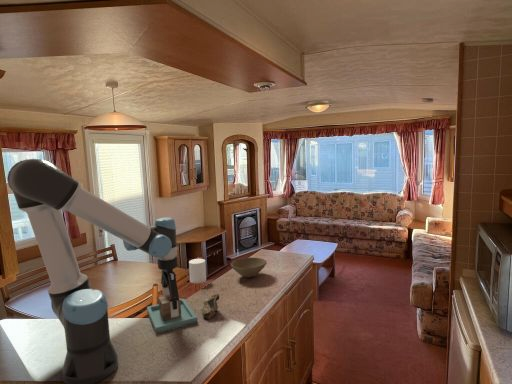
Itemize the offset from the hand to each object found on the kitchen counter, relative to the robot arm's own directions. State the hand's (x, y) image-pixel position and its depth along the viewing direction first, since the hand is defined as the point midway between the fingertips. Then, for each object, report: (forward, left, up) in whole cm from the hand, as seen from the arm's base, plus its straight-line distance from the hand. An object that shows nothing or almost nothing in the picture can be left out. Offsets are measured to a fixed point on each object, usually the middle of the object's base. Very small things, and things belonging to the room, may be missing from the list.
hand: (170, 309), depth 132 cm
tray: (0, 0, -3) cm, 3 cm away
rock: (-5, -14, -3) cm, 16 cm away
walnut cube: (0, 0, -2) cm, 2 cm away
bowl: (+23, -46, -3) cm, 52 cm away
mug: (+34, -21, -3) cm, 40 cm away
